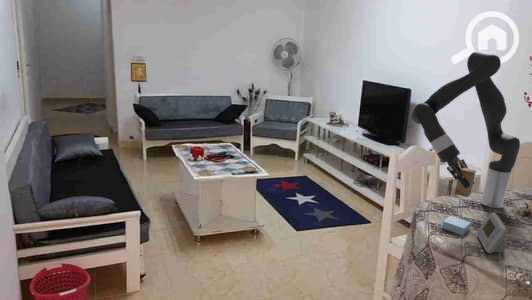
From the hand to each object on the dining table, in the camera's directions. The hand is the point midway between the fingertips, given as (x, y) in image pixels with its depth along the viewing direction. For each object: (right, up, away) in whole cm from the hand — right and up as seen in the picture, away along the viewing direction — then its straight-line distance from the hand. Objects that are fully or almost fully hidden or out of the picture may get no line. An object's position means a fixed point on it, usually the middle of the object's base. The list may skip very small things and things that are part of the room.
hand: (469, 185), depth 166 cm
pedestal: (-3, -18, +6) cm, 19 cm away
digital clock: (+4, -22, -6) cm, 23 cm away
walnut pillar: (-2, -4, +2) cm, 5 cm away
